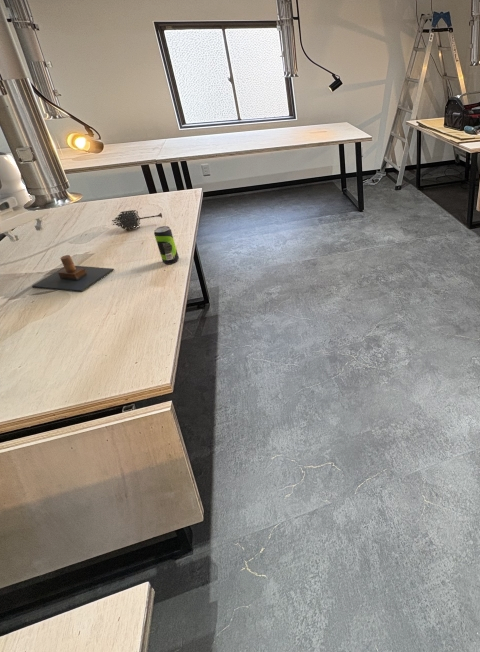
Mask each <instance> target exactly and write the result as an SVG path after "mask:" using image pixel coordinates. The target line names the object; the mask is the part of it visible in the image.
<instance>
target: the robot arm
mask: <svg viewBox="0 0 480 652" xmlns="http://www.w3.org/2000/svg"><path fill="white" fill-rule="evenodd" d="M29 193H30V192H28V190H27V187H26V185H25V184H24V183H23V181H22V174H21V172H20V170H19V167H18V166H17V164H16V161H15V160H14V158H13V157H12V156H11V155H10V154H9V153H5V152H3V151H0V235H2V234H3V235H4V236H6V237H7V238H9V240H10V242H12V243H15V242H17V241H19V240H20V238H19V236H18V235H17V234H16V235H15V234H12V233H13V230H14V229H16V228H19V227H22V226H24V225H27V224H30V223H31V222H33V221H36V224H35V225H34V229H35V230H36V231H37V232H39V231H40V232H41V231H43V230H44V228H45V227H44V226H43V224H44V219H45V218H44V217H46V216H48V215H50V214H51V212H52V209H51V208H50V209H46V210H38V211H28V210H25V209H23V205H24V204H26V203H27V202H28V201H30V200H32V199H33V197H32V196H31V195H30V194H29Z"/></svg>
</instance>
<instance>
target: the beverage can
mask: <svg viewBox="0 0 480 652" xmlns="http://www.w3.org/2000/svg"><path fill="white" fill-rule="evenodd" d="M153 234H154V237H155V242H156V244H157V248H158V251H159V255H160V257H161V259H162V260H161V261H162V263H163V264H165V265H172V263H173V264H176V263H177V262H178V261H179V259H180V258H179V257H180V256H179V253H178V250H177V246H176V242H175V239H174V235H173V232H172V229H171V227H170V226H168V225H162V226H159V227H157V228H154V230H153Z"/></svg>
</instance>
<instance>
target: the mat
mask: <svg viewBox="0 0 480 652" xmlns="http://www.w3.org/2000/svg"><path fill="white" fill-rule="evenodd" d="M74 266H75V268H84V269H85V271H86V274H87V275H86V276H84V277H83V278H81V279H79V280H78V281H74V280H66V279H60V276H59V274H58V272H59V271H61V270H63V269H65V268H64V266H63V267H62V268H60V269H58V270H56V271H55V272H53V273H51V274H50V275H48V276H46V277H45V278H42V279H41V280H40V281H37V282H36V283H34V284H33V285H31V287H32V288H34V289H43V290H54V291H55V290H56V291H67V292H79V293H83V292H84V291H86V290H87V289H89V288H90V287H91V286H93V285H95V284H96V283H98V282H99V281H101V280H102V279H103V278H105V277H106V276H108V275H109V274H111V273H112V272H114V271H115V269H114V268H111V267H99V266H98V267H97V266H85V265H74ZM113 270H114V271H113ZM110 272H111V273H110ZM107 274H108V275H107ZM104 276H105V277H104ZM101 278H102V279H101ZM97 281H98V282H97Z"/></svg>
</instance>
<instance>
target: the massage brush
mask: <svg viewBox="0 0 480 652" xmlns="http://www.w3.org/2000/svg"><path fill="white" fill-rule="evenodd" d="M150 218H161V219H162V218H163V214H162V212H160V213H158V214H156V215H151V216H143V217H140V216H139V211H138V210H136V209H132V210H126V211H125V210H124V211H120V212H119V214H117V216H116V217H114V219H112V220H111V222H112V226H116V227H118V228H119V227H120V229H122V230H124V231H128V230H127V229H132V230H134V229H133V228H136V227H137V226H139V225H140V224H141V220H145V219H150ZM134 226H135V227H134ZM137 229H141V227H140V226H139V227H137Z"/></svg>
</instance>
